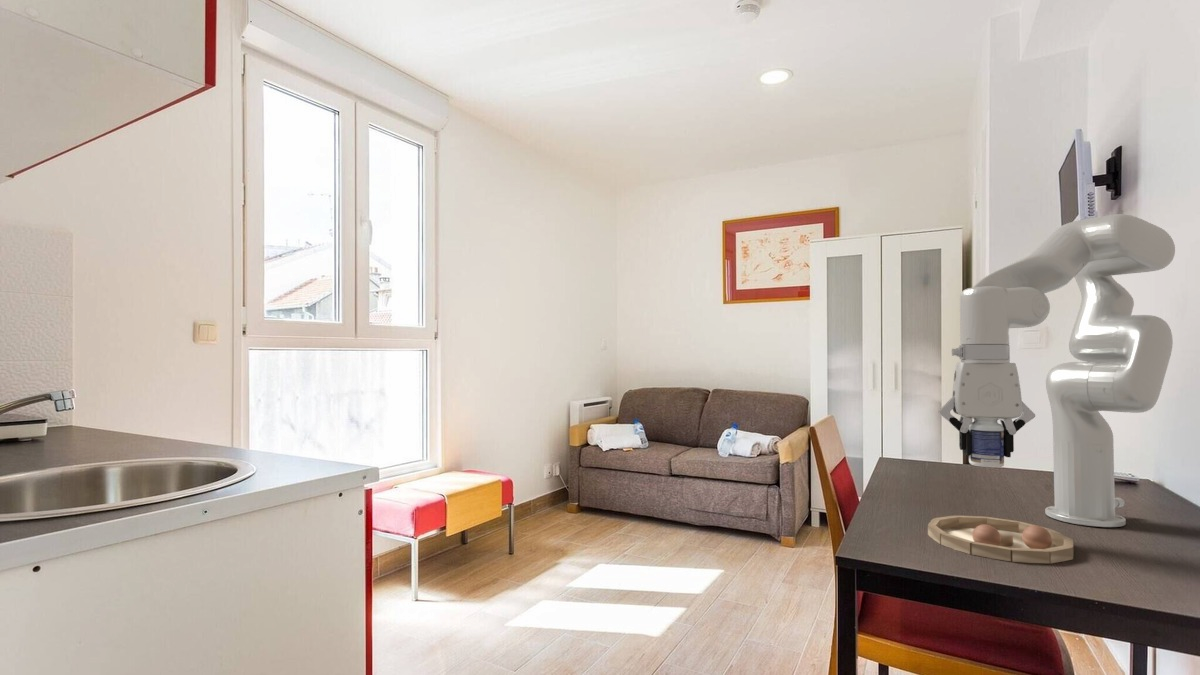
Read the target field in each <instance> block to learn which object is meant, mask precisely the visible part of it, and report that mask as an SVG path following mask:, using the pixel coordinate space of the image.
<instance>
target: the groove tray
mask: <svg viewBox="0 0 1200 675" xmlns="http://www.w3.org/2000/svg"><path fill="white" fill-rule="evenodd" d="M983 524H986V525H990V526H992V527H994V528H995V529H997V530H998V532H999V533H1000V535H1001V543H1000V545H999V546H997V545H991V544H984V543H978V542H974V540H973V536H972V534H973V530H974V529H975V528H976V527H977V526H979V525H983ZM1032 525H1034V524H1033V523H1029V522H1024V521H1019V520H1014V519H1013V520H1012V519H1007V518H1005V519H1004V518H998V517H990V516H980V515H975V516H974V515H947V516H939V517H934V518H932V519H931V520H930V522H928V524H927V535H928V537H930V538H931V539H932V540H933V541H935V542H936V543H938V544H939V545H941V546H943V547H944V546H945V547H947V548H949V549H952V550H955V551H958V552H962V553H965V554H968V555H972V556H977V557H983V558H987V559H992V560H999V561H1005V562H1010V563H1011V562H1012V563H1025V564H1027V563H1028V564H1057V563H1061V562H1062V563H1063V562H1065V561H1070V560H1074V539H1073V538H1071V537H1069V536H1067V535H1066V534H1063V533H1061V532H1059V531H1057V530H1054V529H1052V528H1048V527H1044V526H1042V527H1043V528H1045V529H1046V530H1047V531H1048V532H1049V533H1050V535H1051V537H1052V544H1051V546H1050V547H1049V548H1047V549H1031V548H1029V547H1028V546H1027V545H1026V544H1025V543H1024V541H1023V539H1022V533H1023V531H1024V529H1025V528H1027V527H1029V526H1032Z"/></svg>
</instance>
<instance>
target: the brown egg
mask: <svg viewBox="0 0 1200 675" xmlns="http://www.w3.org/2000/svg"><path fill="white" fill-rule="evenodd" d="M972 536H973V540H974V542H978V543H984V544H991V545H997V546H999V545H1000V543H1001V535H1000V533H999V532H998V530H997V529H995V528H994V527H992V526H990V525H986V524H983V525H979V526H977V527H976V528H975V529H974V530H973V534H972Z"/></svg>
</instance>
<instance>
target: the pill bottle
mask: <svg viewBox="0 0 1200 675" xmlns="http://www.w3.org/2000/svg"><path fill="white" fill-rule="evenodd" d="M972 420H973V422H972V421H971V423H970V426H969V433H970V434H971V450H972V454H971V455H968V462H969V465H972V466H976V467H985V468H1003V467H1004V466H1005V456H1004V428H1003V426H1002V425H1001V423H999V422H998V421H1000V420H999V418H972Z"/></svg>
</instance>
